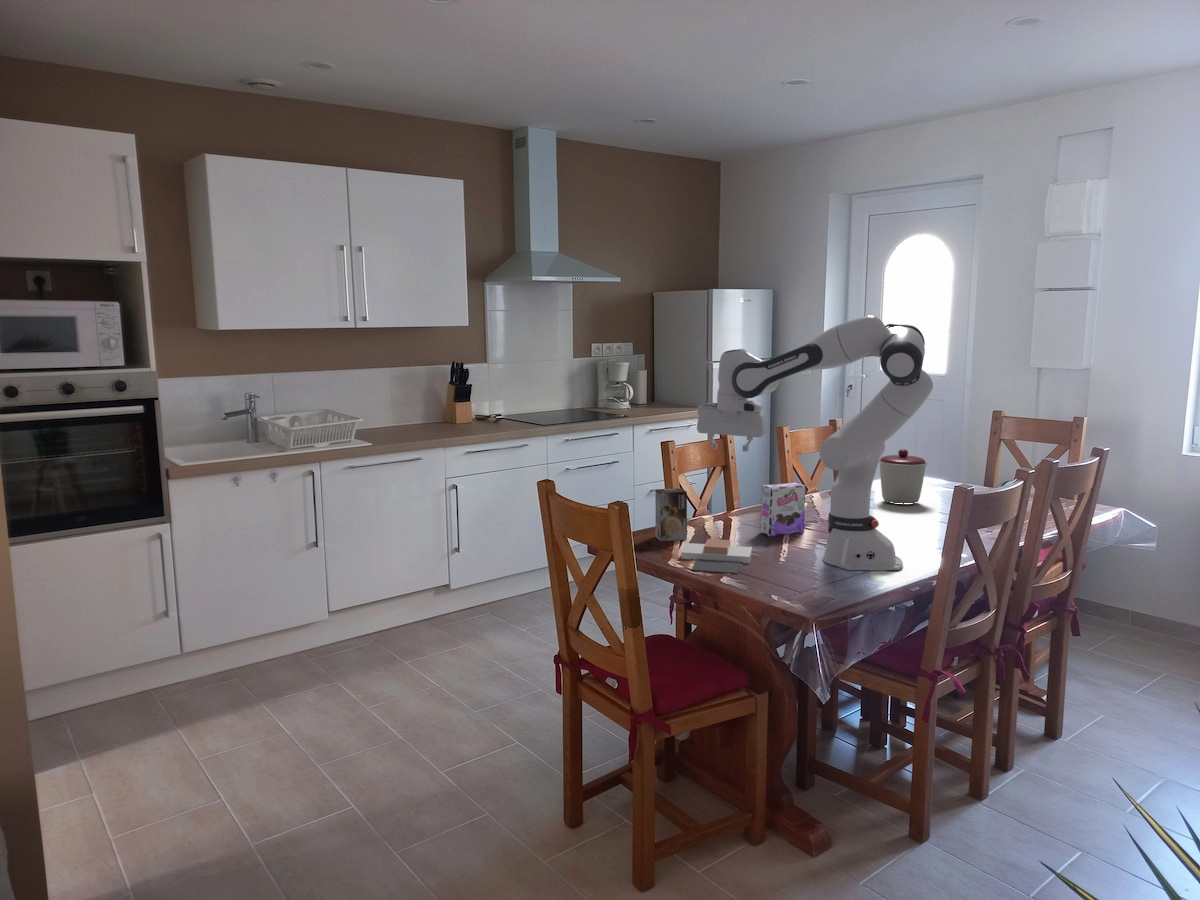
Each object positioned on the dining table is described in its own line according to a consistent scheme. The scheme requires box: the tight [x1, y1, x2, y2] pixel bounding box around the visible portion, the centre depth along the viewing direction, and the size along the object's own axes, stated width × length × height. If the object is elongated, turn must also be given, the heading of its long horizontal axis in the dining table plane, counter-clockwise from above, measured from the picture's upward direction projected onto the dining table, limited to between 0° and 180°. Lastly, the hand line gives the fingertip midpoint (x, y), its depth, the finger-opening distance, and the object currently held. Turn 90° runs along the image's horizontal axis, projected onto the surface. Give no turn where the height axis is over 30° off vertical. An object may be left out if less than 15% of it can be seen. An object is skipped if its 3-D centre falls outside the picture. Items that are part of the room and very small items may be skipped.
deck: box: [681, 542, 753, 564], centre depth 258 cm, size 20×11×2 cm, turn 76°
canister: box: [878, 448, 929, 504], centre depth 331 cm, size 18×18×21 cm
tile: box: [704, 538, 731, 554], centre depth 258 cm, size 7×9×2 cm
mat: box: [690, 559, 742, 575], centre depth 247 cm, size 13×11×1 cm
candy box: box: [759, 482, 806, 537], centre depth 285 cm, size 14×6×16 cm, turn 112°
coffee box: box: [654, 487, 688, 542], centre depth 278 cm, size 9×6×16 cm
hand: (729, 450), depth 256 cm, fingers open, 8 cm apart
